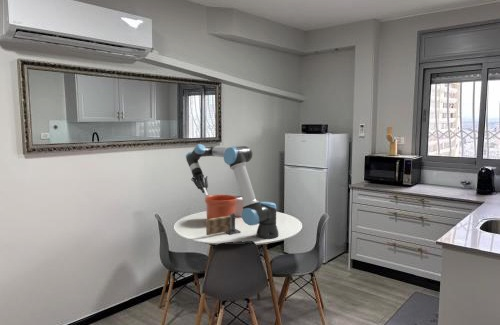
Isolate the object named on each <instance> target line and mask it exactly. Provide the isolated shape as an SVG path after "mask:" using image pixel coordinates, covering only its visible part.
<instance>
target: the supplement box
mask: <svg viewBox="0 0 500 325" xmlns="http://www.w3.org/2000/svg"><path fill="white" fill-rule="evenodd" d="M243 205H244V202H243V199H242V196H240V197H237V202H236V207H235V217H239V218H242V211H243Z"/></svg>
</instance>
